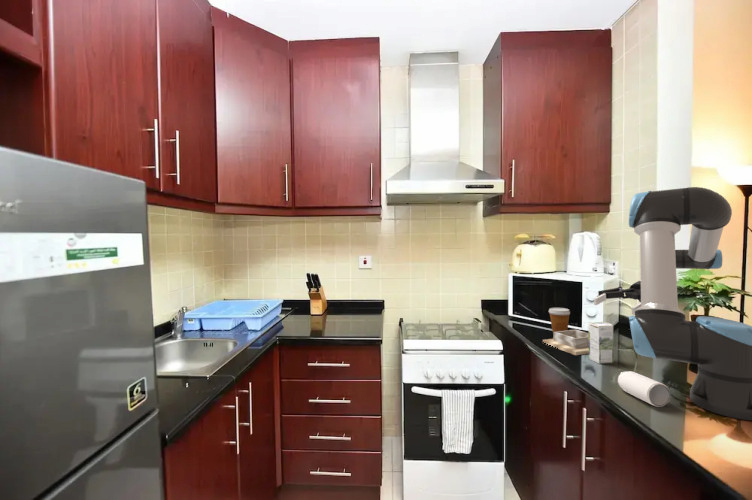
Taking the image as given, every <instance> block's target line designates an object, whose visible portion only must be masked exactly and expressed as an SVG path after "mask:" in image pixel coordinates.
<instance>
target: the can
mask: <svg viewBox="0 0 752 500" xmlns="http://www.w3.org/2000/svg"><path fill="white" fill-rule="evenodd" d="M616 379H617V380H616V381H617V385H618V386H619V388H621V389H622V390H623V391H624V392H625V393H628V394H629V395H631V396H632V397H633V396H634V397H635V398H637V399H639V400H641V401H643V402H646V403H648V404H650V405H651V406H654V407H656V408H661V407H664V406H666V405H667V404H668V403H669V402H670V400H671V392H670V389H669V388H668V386H667V385H665V384H664V383H661V382H659V381H657V380H655V379H652V378H651V377H647V376H645V375H642V374H640V373H637V372H634V371H633V370H632V371H631V370H630V371H629V370H623V371H622V372H620V373H619V374H618V376H617V377H616Z"/></svg>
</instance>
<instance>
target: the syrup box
mask: <svg viewBox="0 0 752 500" xmlns="http://www.w3.org/2000/svg"><path fill="white" fill-rule="evenodd" d="M587 325H588V326H587V328H588V329H587V331H588V332H587V333H589V354H588V359H589V360H590V361H592V362H594V363H597V364H599V365H601V364H604V365H605V364H614V325H613V324H611V323H609V322H605V321H594V322H593V321H592V322H591V321H589V322H588V323H587Z"/></svg>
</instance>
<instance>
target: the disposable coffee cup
mask: <svg viewBox="0 0 752 500" xmlns="http://www.w3.org/2000/svg"><path fill="white" fill-rule="evenodd" d="M548 313H549V317H550V324H551V330H552V333H553V332H557V331H566V330H568V329H569V322H570V321H569V320H570V314H571V310H570V309H568V308H565V307H550V308H549V309H548Z"/></svg>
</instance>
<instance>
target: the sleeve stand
mask: <svg viewBox="0 0 752 500" xmlns="http://www.w3.org/2000/svg"><path fill="white" fill-rule="evenodd" d="M552 333H553V337H552V338H548V339H546V338H545V339H542V343H543V342H544V343H546V344H545V345H547V344H548V345H547V346H549V345H551V346H550V347H552V346H553V347H552V348H555V347H556V348H555V349H557V348H558V350H560V351H564V352H566V353H569V354H571V355H573V356H580V355H589V332H586V331H582V330H578V329H576V328H575V329H569V330H566V331H557V332H553V331H552ZM544 343H543V344H544Z"/></svg>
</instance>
